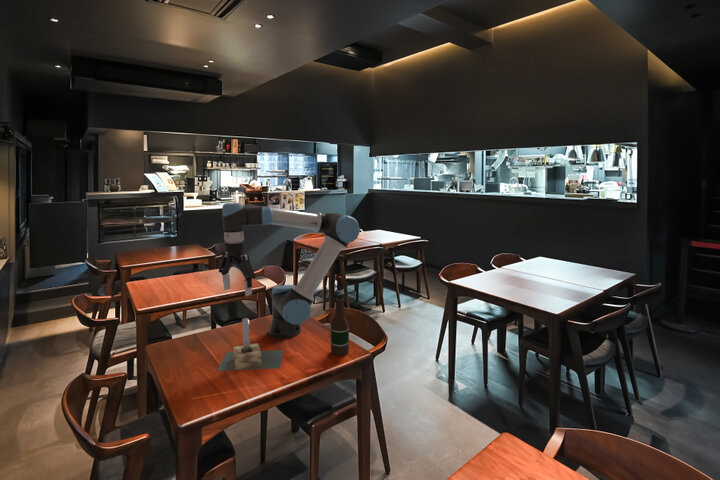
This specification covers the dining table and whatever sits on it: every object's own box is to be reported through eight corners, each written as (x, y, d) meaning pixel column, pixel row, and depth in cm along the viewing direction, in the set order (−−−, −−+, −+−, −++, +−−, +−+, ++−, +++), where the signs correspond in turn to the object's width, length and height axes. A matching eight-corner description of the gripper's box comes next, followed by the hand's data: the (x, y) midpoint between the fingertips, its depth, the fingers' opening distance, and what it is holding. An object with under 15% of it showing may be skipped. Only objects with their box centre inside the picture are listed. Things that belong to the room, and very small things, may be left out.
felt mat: (284, 350, 170) (284, 350, 170) (279, 369, 154) (279, 368, 154) (227, 352, 168) (226, 351, 168) (216, 371, 152) (216, 370, 152)
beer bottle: (340, 346, 175) (340, 294, 170) (352, 352, 169) (352, 298, 165) (327, 352, 169) (326, 298, 165) (339, 358, 164) (339, 302, 160)
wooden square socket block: (258, 354, 166) (258, 343, 165) (261, 365, 156) (261, 353, 156) (233, 358, 162) (233, 346, 161) (235, 369, 153) (234, 357, 152)
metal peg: (250, 359, 161) (248, 317, 158) (251, 362, 158) (249, 319, 155) (243, 360, 160) (241, 318, 157) (244, 363, 157) (242, 320, 155)
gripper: (207, 240, 162) (211, 289, 166) (247, 246, 148) (250, 300, 152) (222, 237, 169) (226, 285, 172) (262, 243, 155) (265, 295, 158)
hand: (237, 292), depth 162 cm, fingers open, 13 cm apart
